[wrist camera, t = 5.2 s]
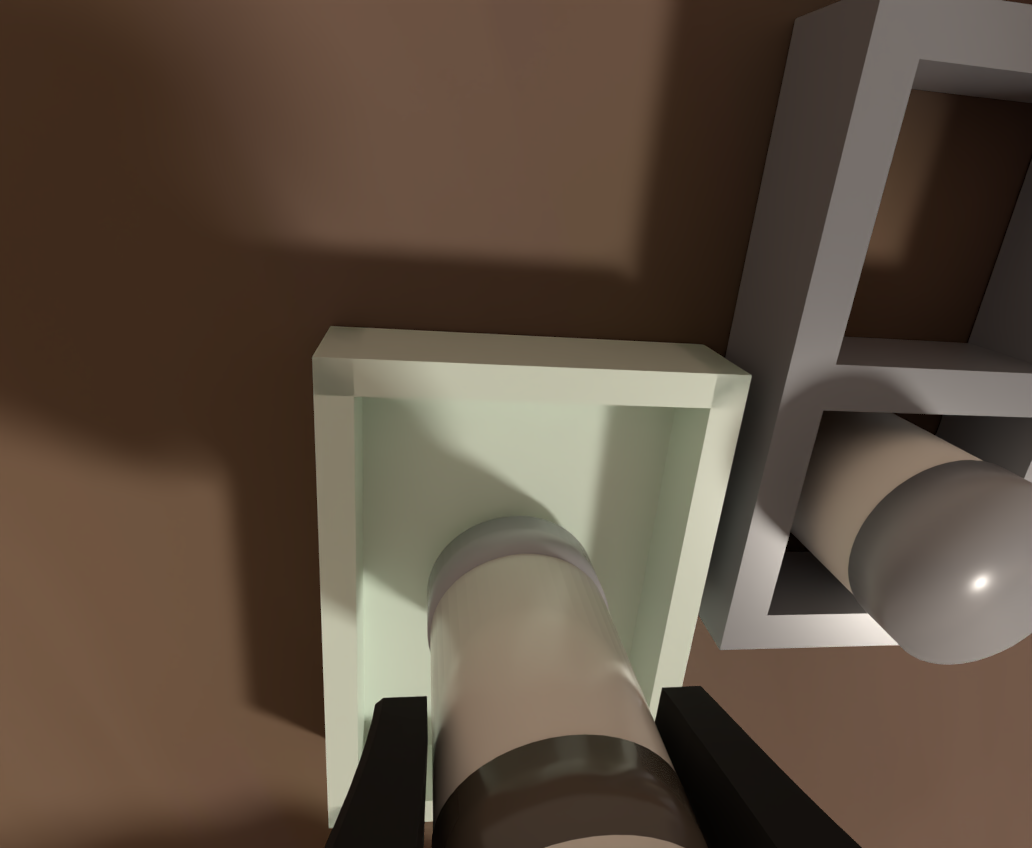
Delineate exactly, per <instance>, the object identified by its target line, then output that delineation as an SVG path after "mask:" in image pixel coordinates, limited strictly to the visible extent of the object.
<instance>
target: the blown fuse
mask: <svg viewBox="0 0 1032 848" xmlns="http://www.w3.org/2000/svg"><path fill="white" fill-rule="evenodd" d="M427 637H428V645H429V649H430V653H431V723H432V792H433V834H432V848H709V847H708V844H707V842H706V839H705V837H704V835H703V832H702V830H701V828H700V825H699V823H698V820H697V818H696V816H695V813H694V811H693V808H692V806H691V804H690V801H689V799H688V797H687V794H686V792H685V789H684V787H683V785H682V782H681V781H680V779H679V777H678V775H677V773H676V772H675V770H674V767H673V765H672V762H671V760H670V758H669V755H668V753H667V750H666V748H665V745H664V743H663V741H662V738H661V736H660V733H659V731H658V729H657V726H656V724H655V721H654V719H653V717H652V714H651V712H650V709H649V707H648V705H647V702H646V700H645V697H644V695H643V693H642V690H641V688H640V685H639V683H638V681H637V678H636V676H635V673H634V671H633V669H632V666H631V664H630V661H629V659H628V657H627V654H626V652H625V649H624V647H623V645H622V642H621V640H620V637H619V635H618V633H617V630H616V628H615V625H614V623H613V620H612V618H611V616H610V613H609V609H608V603H607V600H606V597H605V594H604V592H603V589H602V587H601V585H600V582H599V580H598V577H597V575H596V573H595V570H594V568H593V566H592V563H591V561H590V559H589V556H588V554H587V552H586V551H585V549H584V547H583V546H582V545H581V543H580V542H579V541H578V540H577V539H576V538H575V537H574V536H573V535H572V534H571V533H570V532H568V531H567V530H566V529H564V528H562V527H561V526H559V525H557V524H555V523H552V522H550V521H547V520H544V519H540V518H536V517H529V516H507V517H500V518H495V519H491V520H488V521H485V522H482V523H479V524H477V525H475V526H473V527H471V528H469V529H467V530H466V531H464V532H463V533H461V534H459V535H458V536H457V537H456V538H455V539H453V540H452V541H451V542H450V543H449V544H448V545H447V546H446V547H445V548H444V549H443V551H442V552H441V553H440V555H439V556H438V558H437V559H436V561H435V563H434V565H433V567H432V570H431V573H430V575H429V580H428V585H427Z"/></svg>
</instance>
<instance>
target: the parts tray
mask: <svg viewBox="0 0 1032 848" xmlns="http://www.w3.org/2000/svg"><path fill="white" fill-rule="evenodd" d="M312 369H313V398H314V426H315V454H316V482H317V510H318V539H319V567H320V595H321V623H322V651H323V680H324V708H325V736H326V764H327V792H328V821H329V828H333V826H334V824H335V822H336V819H337V817H338V814H339V812H340V810H341V807H342V805H343V803H344V800H345V798H346V795H347V793H348V791H349V788H350V785H351V783H352V780H353V777H354V774H355V772H356V769H357V766H358V764H359V761H360V758H361V755H362V752H363V749H364V746H365V743H366V740H367V736H368V733H369V729H370V725H371V722H372V717H373V712H374V707H375V704H376V703H377V702H379V701H380V700H381V699H382V698H389V697H416V696H427V716H428V752H427V776H426V800H425V822H429V821H433V792H432V723H431V653H430V649H429V645H428V637H427V585H428V580H429V575H430V573H431V570H432V567H433V565H434V563H435V561H436V559H437V558H438V556H439V555H440V553H441V552H442V551H443V549H444V548H445V547H446V546H447V545H448V544H449V543H450V542H451V541H452V540H453V539H455V538H456V537H457V536H458V535H459V534H461V533H463V532H464V531H466V530H467V529H469V528H471V527H473V526H475V525H477V524H479V523H482V522H485V521H488V520H491V519H495V518H500V517H507V516H529V517H536V518H540V519H544V520H547V521H550V522H552V523H555V524H557V525H559V526H561V527H562V528H564V529H566V530H567V531H568V532H570V533H571V534H572V535H573V536H574V537H575V538H576V539H577V540H578V541H579V542H580V543H581V545H582V546H583V547H584V549H585V551H586V552H587V554H588V556H589V559H590V561H591V563H592V566H593V568H594V570H595V573H596V575H597V577H598V580H599V582H600V585H601V587H602V589H603V592H604V594H605V597H606V600H607V603H608V609H609V613H610V616H611V618H612V620H613V623H614V625H615V628H616V630H617V633H618V635H619V637H620V640H621V642H622V645H623V647H624V649H625V652H626V654H627V657H628V659H629V661H630V664H631V666H632V669H633V671H634V673H635V676H636V678H637V681H638V683H639V685H640V688H641V690H642V693H643V695H644V697H645V700H646V702H647V705H648V707H649V709H650V712H651V714H652V717H653V719H654V721H655V718H656V714H657V709H658V704H659V699H660V695H661V690H662V687H682V684H683V679H684V675H685V670H686V666H687V661H688V657H689V653H690V648H691V644H692V639H693V635H694V630H695V626H696V622H697V617H698V613H699V608H700V604H701V599H702V595H703V590H704V586H705V582H706V577H707V573H708V568H709V564H710V559H711V555H712V551H713V546H714V542H715V537H716V533H717V528H718V524H719V520H720V515H721V511H722V506H723V502H724V497H725V493H726V488H727V484H728V480H729V475H730V471H731V466H732V462H733V457H734V453H735V449H736V444H737V440H738V435H739V431H740V426H741V422H742V418H743V413H744V409H745V404H746V400H747V395H748V391H749V386H750V382H751V378H752V375H751V374H749V373H747V372H746V371H744V370H743V369H741V368H740V367H738V366H737V365H735V364H733V363H732V362H730V361H729V360H727V359H726V358H724V357H722V356H721V355H719V354H718V353H716V352H715V351H713V350H711V349H710V348H708V347H707V346H705V345H704V344H686V343H666V342H646V341H625V340H605V339H585V338H564V337H544V336H524V335H504V334H483V333H463V332H443V331H422V330H402V329H382V328H361V327H341V326H330V328H329V329H328V331H327V333H326V334H325V336H324V338H323V339H322V341H321V343H320V344H319V346H318V348H317V349H316V351H315V353H314V355H313V356H312Z"/></svg>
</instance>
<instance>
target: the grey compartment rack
mask: <svg viewBox="0 0 1032 848" xmlns="http://www.w3.org/2000/svg"><path fill="white" fill-rule="evenodd" d="M911 89H916V90H924V91H933V92H941V93H950V94H958V95H966V96H975V97H983V98H991V99H1000V100H1008V101H1016V102H1025V103H1032V5H1030V4H1023V3H1016V2H1010V1H1003V0H841V1H838V2H836V3H833V4H831V5H828V6H826V7H823V8H821V9H818V10H816V11H813V12H811V13H808V14H806V15H803V16H801V17H798V18H796V19H795V23H794V28H793V33H792V38H791V42H790V47H789V52H788V57H787V62H786V67H785V71H784V76H783V81H782V86H781V91H780V95H779V100H778V105H777V110H776V115H775V120H774V124H773V129H772V134H771V139H770V144H769V148H768V153H767V158H766V163H765V168H764V173H763V177H762V182H761V187H760V192H759V197H758V202H757V206H756V211H755V216H754V221H753V226H752V230H751V235H750V240H749V245H748V250H747V255H746V259H745V264H744V269H743V274H742V279H741V284H740V288H739V293H738V298H737V303H736V308H735V312H734V317H733V322H732V327H731V332H730V337H729V341H728V346H727V351H726V356H725V358H726V359H727V360H729V361H730V362H732V363H733V364H735V365H737V366H738V367H740V368H741V369H743V370H744V371H746V372H747V373H749V374H751V375H752V378H751V382H750V386H749V391H748V395H747V400H746V404H745V409H744V413H743V418H742V422H741V426H740V431H739V435H738V440H737V444H736V449H735V453H734V457H733V462H732V466H731V471H730V475H729V480H728V484H727V488H726V493H725V497H724V502H723V506H722V511H721V515H720V520H719V524H718V528H717V533H716V537H715V542H714V546H713V551H712V555H711V559H710V564H709V568H708V573H707V577H706V582H705V586H704V590H703V595H702V599H701V604H700V608H699V613H698V615H699V617H700V618H701V620H702V621H703V623H704V625H705V626H706V628H707V630H708V631H709V633H710V635H711V636H712V638H713V639H714V641H715V643H716V644H717V646H718V648H719V649H720V650H734V649H770V648H806V647H842V646H878V645H900V646H901V647H902V648H903V649H904V650H905V651H906V652H908V653H909V654H910V655H912V656H914V657H916V658H918V659H920V660H923V661H926V662H930V663H936V664H963V663H968V662H973V661H977V660H980V659H984V658H987V657H990V656H992V655H995V654H997V653H1000V652H1002V651H1004V650H1006V649H1007V648H1009V647H1011V646H1013V645H1015V644H1016V643H1018V642H1020V641H1021V640H1023V639H1024V638H1026V637H1027V636H1028V635H1030V634H1031V633H1032V160H1031V163H1030V166H1029V168H1028V171H1027V174H1026V177H1025V180H1024V183H1023V186H1022V189H1021V191H1020V194H1019V197H1018V200H1017V203H1016V206H1015V209H1014V212H1013V214H1012V217H1011V220H1010V223H1009V226H1008V229H1007V232H1006V235H1005V238H1004V240H1003V243H1002V246H1001V249H1000V252H999V255H998V258H997V261H996V263H995V266H994V269H993V272H992V275H991V278H990V281H989V284H988V287H987V289H986V292H985V295H984V298H983V301H982V304H981V307H980V310H979V312H978V315H977V318H976V321H975V324H974V327H973V330H972V333H971V336H970V338H969V341H968V343H958V342H939V341H920V340H901V339H883V338H864V337H845V336H844V333H845V329H846V326H847V322H848V318H849V315H850V311H851V307H852V304H853V300H854V297H855V293H856V289H857V286H858V282H859V278H860V275H861V271H862V267H863V264H864V260H865V256H866V253H867V249H868V245H869V242H870V238H871V234H872V231H873V227H874V223H875V220H876V216H877V212H878V209H879V205H880V201H881V198H882V194H883V191H884V187H885V183H886V180H887V176H888V172H889V169H890V165H891V161H892V158H893V154H894V150H895V147H896V143H897V139H898V136H899V132H900V128H901V125H902V121H903V117H904V114H905V110H906V106H907V103H908V99H909V95H910V92H911ZM893 413H913V414H943V416H942V419H941V422H940V425H939V428H938V431H937V433H936V436H935V435H933V434H931V433H929V432H928V431H926V430H924V429H922V428H920V427H918V426H916V425H914V424H912V423H911V422H909V421H907V420H905V419H903V418H901V417H899V416H897V415H895V414H893ZM790 532H791V533H792V534H793V535H794V536H795V537H796V538H797V539H798V540H799V541H800V542H801V543H802V544H803V545H804V546H805V547H806V548H807V549H808V550H809V551H810V552H785V549H786V545H787V541H788V538H789V534H790Z"/></svg>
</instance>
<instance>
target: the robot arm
mask: <svg viewBox="0 0 1032 848" xmlns="http://www.w3.org/2000/svg"><path fill="white" fill-rule="evenodd" d="M655 724H656V726H657V729H658V731H659V733H660V736H661V738H662V741H663V743H664V745H665V748H666V750H667V753H668V755H669V758H670V760H671V762H672V765H673V767H674V770H675V772H676V773H677V775H678V777H679V779H680V781H681V782H682V785H683V787H684V789H685V792H686V794H687V797H688V799H689V801H690V804H691V806H692V808H693V811H694V813H695V816H696V818H697V820H698V823H699V825H700V828H701V830H702V832H703V835H704V837H705V839H706V842H707V844H708V847H709V848H862V847H861V846H859V845H858V844H857V843H856V842H855V841H854V840H853V839H852V838H851V837H850V836H849V835H848V834H847V833H846V832H845V831H844V830H843V829H841V828H840V827H839V826H838V825H837V824H836V823H835V822H834V821H833V820H832V819H831V818H830V817H829V816H828V815H827V814H826V813H825V812H824V811H823V810H822V809H821V808H820V807H819V806H818V805H817V804H816V803H815V802H814V801H813V800H811V799H810V798H809V797H808V796H807V795H806V794H805V793H804V792H803V791H802V790H801V789H800V788H799V787H798V786H797V785H796V784H795V783H794V782H793V781H792V780H791V779H790V778H789V777H788V776H787V775H786V774H785V773H784V772H783V771H782V770H781V769H780V768H779V767H778V766H777V764H776V763H775V762H774V761H773V760H772V759H771V758H770V757H769V756H768V755H767V754H766V753H765V752H764V751H763V750H762V749H761V748H760V747H759V746H758V745H757V744H756V743H755V742H754V741H753V740H752V739H751V738H750V737H749V736H748V735H747V734H746V732H745V731H744V730H743V729H742V728H741V727H740V726H739V725H738V724H737V723H736V722H735V721H734V720H733V719H732V718H731V717H730V716H729V715H728V714H727V713H726V712H725V711H724V710H723V709H722V707H721V706H720V705H719V704H718V703H717V702H716V701H715V700H714V699H713V698H712V697H711V696H710V695H709V694H708V693H707V692H706V691H705V690H704V689H703V688H702V687H701V686H689V687H662V690H661V695H660V699H659V704H658V709H657V714H656V718H655ZM427 752H428V716H427V696H416V697H389V698H382V699H381V700H380V701H379V702H377V703H376V704H375V707H374V712H373V717H372V722H371V725H370V729H369V733H368V736H367V740H366V743H365V746H364V749H363V752H362V755H361V758H360V761H359V764H358V766H357V769H356V772H355V774H354V777H353V780H352V783H351V785H350V788H349V791H348V793H347V795H346V798H345V800H344V803H343V805H342V807H341V810H340V812H339V814H338V817H337V819H336V822H335V824H334V826H333V829H332V831H331V833H330V836H329V838H328V841H327V843H326V845H325V848H423V847H424V823H425V800H426V776H427Z"/></svg>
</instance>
